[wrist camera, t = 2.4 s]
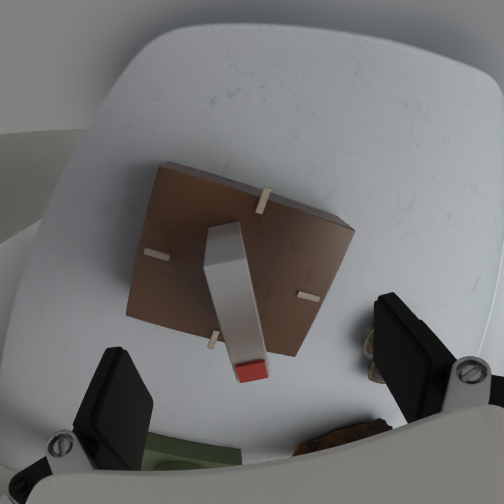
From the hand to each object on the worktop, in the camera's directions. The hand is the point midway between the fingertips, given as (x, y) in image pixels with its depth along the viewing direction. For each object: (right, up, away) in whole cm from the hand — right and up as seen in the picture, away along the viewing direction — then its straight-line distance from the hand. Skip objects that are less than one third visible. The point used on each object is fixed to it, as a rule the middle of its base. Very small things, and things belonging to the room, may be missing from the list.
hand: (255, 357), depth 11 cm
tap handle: (-1, +2, +6) cm, 7 cm away
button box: (-7, -18, +17) cm, 26 cm away
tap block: (-1, +3, +9) cm, 10 cm away
